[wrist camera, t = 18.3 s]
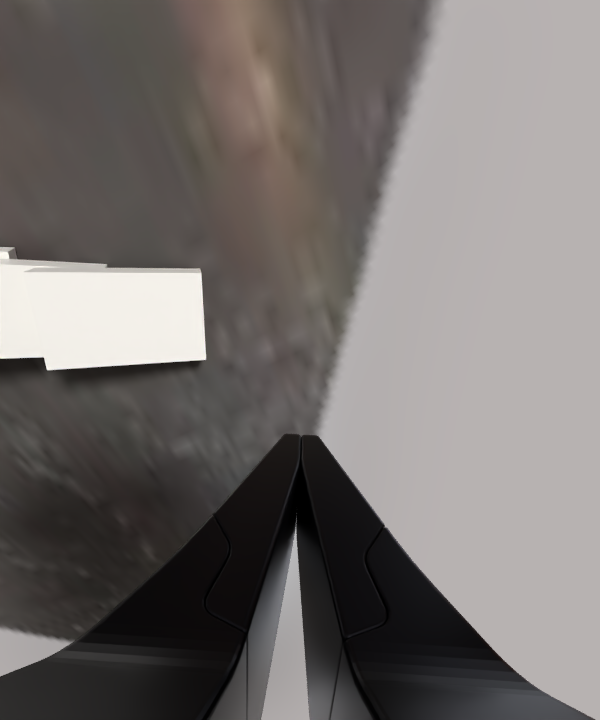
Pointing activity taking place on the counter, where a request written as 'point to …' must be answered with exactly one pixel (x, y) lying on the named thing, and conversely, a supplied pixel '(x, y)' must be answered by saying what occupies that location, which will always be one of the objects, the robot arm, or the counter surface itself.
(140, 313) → the domino
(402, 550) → the robot arm
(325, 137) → the counter surface
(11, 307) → the domino
